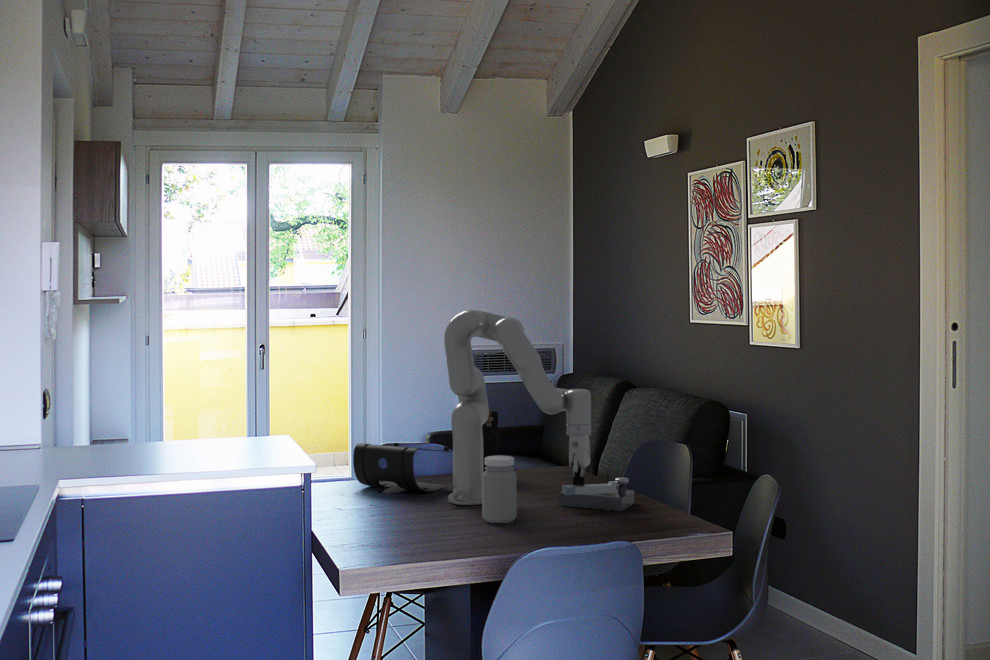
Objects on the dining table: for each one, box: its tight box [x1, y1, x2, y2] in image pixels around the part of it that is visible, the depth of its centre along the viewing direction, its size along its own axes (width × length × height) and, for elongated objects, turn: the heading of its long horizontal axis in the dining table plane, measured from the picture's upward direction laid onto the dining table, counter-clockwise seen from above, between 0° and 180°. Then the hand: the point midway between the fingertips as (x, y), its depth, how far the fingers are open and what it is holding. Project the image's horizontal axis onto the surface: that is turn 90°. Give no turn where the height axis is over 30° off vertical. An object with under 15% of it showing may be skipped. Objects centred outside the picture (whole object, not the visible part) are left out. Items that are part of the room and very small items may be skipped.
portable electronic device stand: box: [352, 442, 452, 495], centre depth 304 cm, size 26×24×16 cm
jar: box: [481, 454, 518, 524], centre depth 255 cm, size 10×10×18 cm
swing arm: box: [561, 476, 630, 495], centre depth 272 cm, size 4×20×4 cm, turn 103°
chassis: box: [558, 483, 635, 512], centre depth 278 cm, size 13×20×7 cm, turn 65°
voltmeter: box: [482, 409, 499, 473], centre depth 324 cm, size 16×9×25 cm, turn 25°
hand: (578, 489), depth 275 cm, fingers closed
